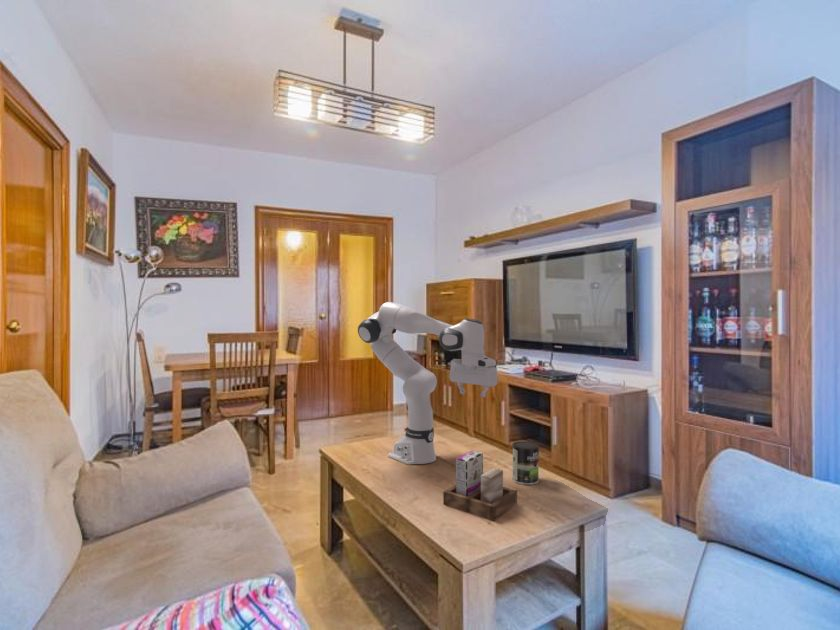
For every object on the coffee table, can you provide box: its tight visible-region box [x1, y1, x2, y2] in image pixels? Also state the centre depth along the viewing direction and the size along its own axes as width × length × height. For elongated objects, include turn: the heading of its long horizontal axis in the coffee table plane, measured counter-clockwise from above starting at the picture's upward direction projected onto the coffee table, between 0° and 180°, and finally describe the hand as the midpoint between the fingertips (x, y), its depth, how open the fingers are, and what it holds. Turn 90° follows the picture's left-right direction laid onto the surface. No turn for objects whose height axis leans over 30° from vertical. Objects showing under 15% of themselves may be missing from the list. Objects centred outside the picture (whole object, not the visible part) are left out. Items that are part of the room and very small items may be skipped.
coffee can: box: [511, 440, 540, 486], centre depth 185 cm, size 10×10×14 cm
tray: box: [442, 467, 518, 522], centre depth 163 cm, size 20×17×12 cm
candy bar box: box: [455, 450, 484, 497], centre depth 165 cm, size 11×5×16 cm, turn 142°
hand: (472, 395), depth 182 cm, fingers open, 8 cm apart
